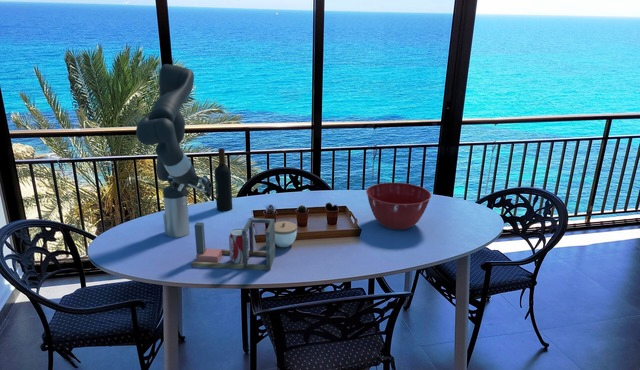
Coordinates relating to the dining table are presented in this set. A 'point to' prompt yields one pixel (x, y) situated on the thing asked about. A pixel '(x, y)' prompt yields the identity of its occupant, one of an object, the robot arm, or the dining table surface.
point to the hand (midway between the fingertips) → (198, 195)
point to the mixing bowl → (398, 204)
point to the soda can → (237, 246)
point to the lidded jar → (285, 233)
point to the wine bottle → (223, 184)
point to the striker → (202, 252)
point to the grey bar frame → (268, 253)
